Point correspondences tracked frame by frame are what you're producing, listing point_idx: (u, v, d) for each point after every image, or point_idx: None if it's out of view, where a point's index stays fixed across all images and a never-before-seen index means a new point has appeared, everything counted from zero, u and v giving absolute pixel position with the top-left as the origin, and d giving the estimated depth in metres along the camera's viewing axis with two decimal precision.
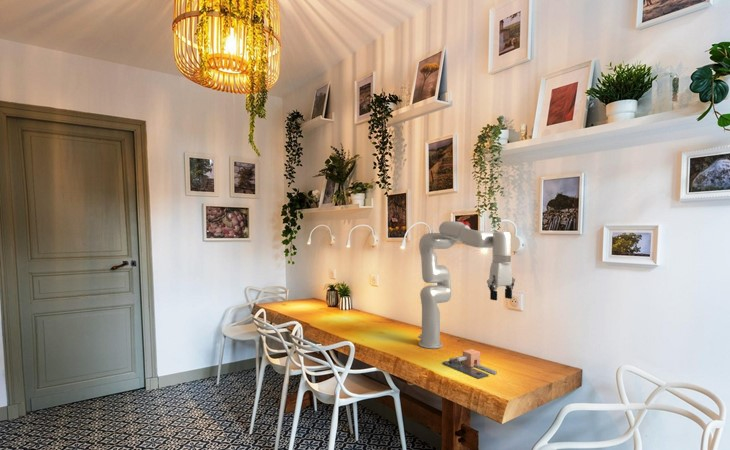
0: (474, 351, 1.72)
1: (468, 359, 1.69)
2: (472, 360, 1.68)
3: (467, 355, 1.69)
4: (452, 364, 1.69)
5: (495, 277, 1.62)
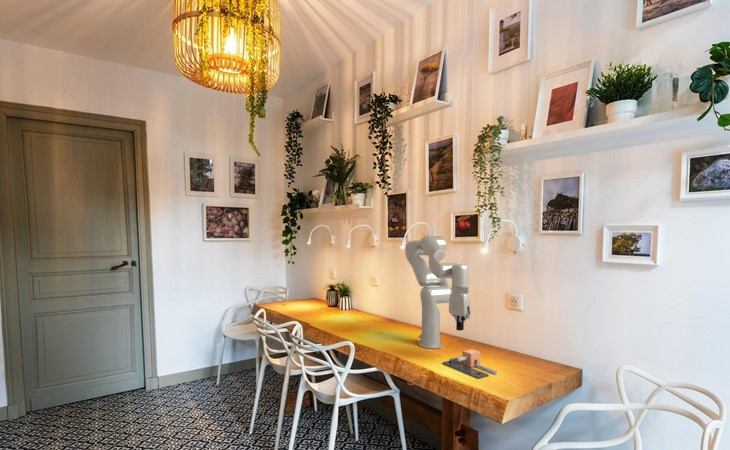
0: (474, 351, 1.72)
1: (468, 359, 1.69)
2: (472, 360, 1.68)
3: (467, 355, 1.69)
4: (452, 364, 1.69)
5: (469, 307, 1.74)
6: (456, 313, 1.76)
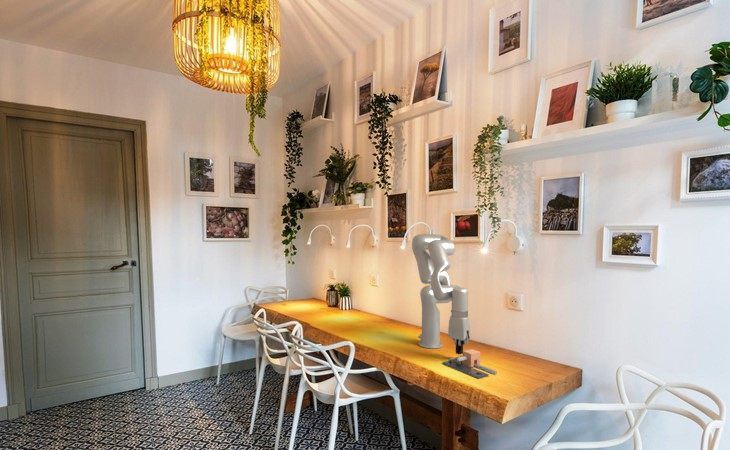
0: (474, 351, 1.72)
1: (468, 359, 1.69)
2: (472, 360, 1.68)
3: (467, 355, 1.69)
4: (452, 364, 1.69)
5: (469, 332, 1.74)
6: (455, 337, 1.76)
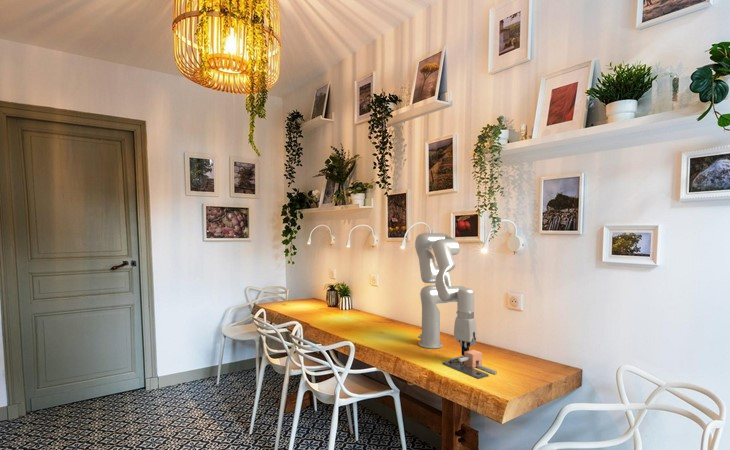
0: (476, 352, 1.71)
1: (470, 360, 1.68)
2: (474, 361, 1.68)
3: (469, 356, 1.69)
4: (452, 364, 1.69)
5: (475, 333, 1.71)
6: (461, 339, 1.73)
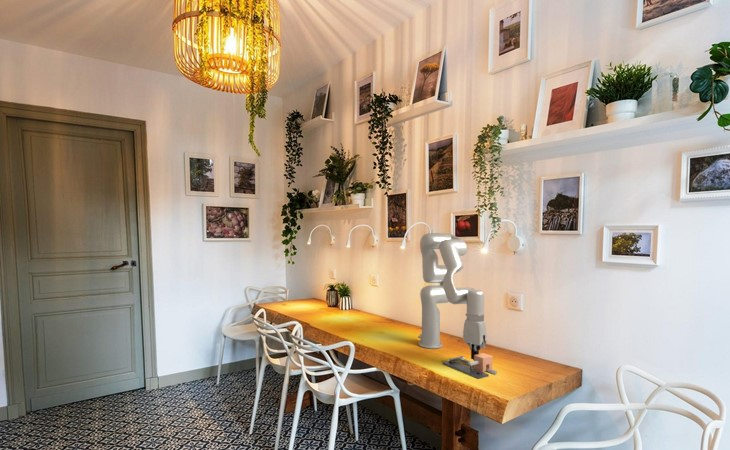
0: (486, 355, 1.66)
1: (480, 363, 1.63)
2: (484, 364, 1.63)
3: (479, 359, 1.64)
4: (452, 364, 1.69)
5: (485, 336, 1.66)
6: (471, 342, 1.68)
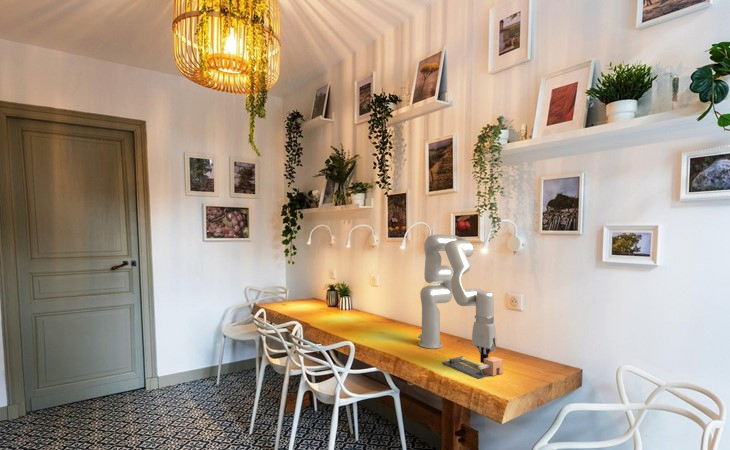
0: (496, 359, 1.61)
1: (490, 367, 1.59)
2: (495, 368, 1.58)
3: (489, 363, 1.59)
4: (452, 364, 1.69)
5: (495, 339, 1.62)
6: (480, 345, 1.64)
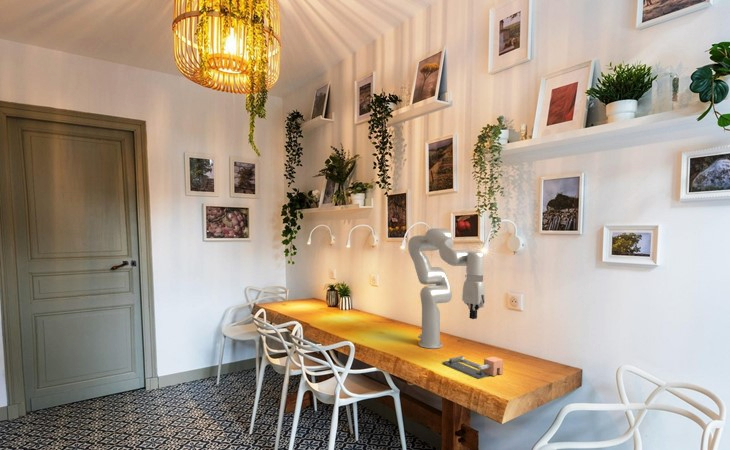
0: (496, 359, 1.61)
1: (490, 367, 1.59)
2: (495, 368, 1.58)
3: (489, 363, 1.59)
4: (452, 364, 1.69)
5: (484, 296, 1.70)
6: (470, 301, 1.72)
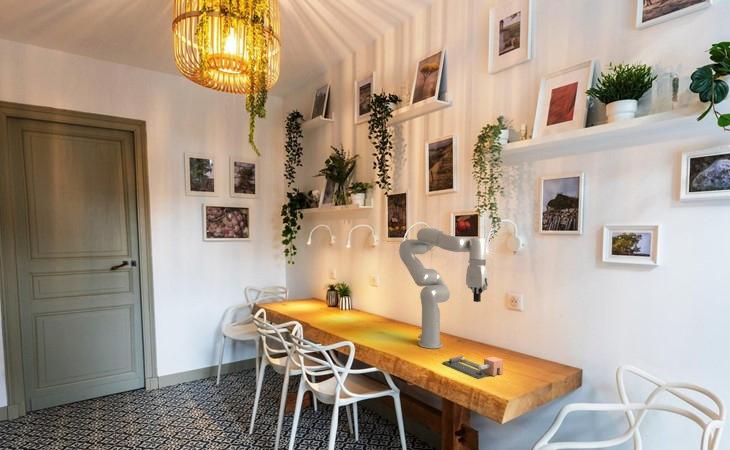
0: (496, 359, 1.61)
1: (490, 367, 1.59)
2: (495, 368, 1.58)
3: (489, 363, 1.59)
4: (452, 364, 1.69)
5: (487, 279, 1.78)
6: (473, 285, 1.80)
